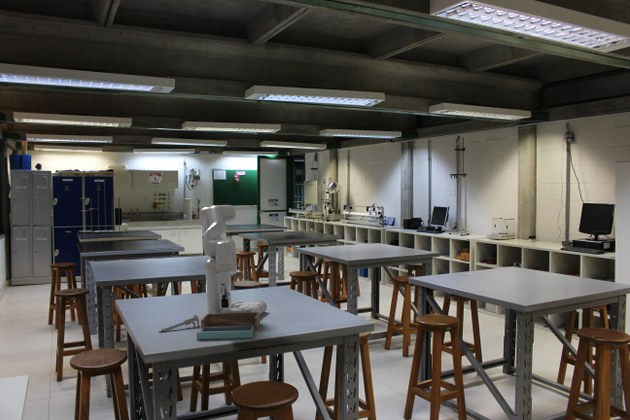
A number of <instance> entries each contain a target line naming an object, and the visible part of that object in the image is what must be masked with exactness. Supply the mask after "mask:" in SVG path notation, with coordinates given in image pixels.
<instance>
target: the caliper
mask: <svg viewBox="0 0 630 420" xmlns="http://www.w3.org/2000/svg"><path fill="white" fill-rule="evenodd" d="M195 321H196V322H195ZM191 324H192V325H193V327H196V324H197V327H200V318H199V315H197V314H196V313H195V314H193V315H192V317H190V318H187V319H184V320H183V321H181V322H178V323H175V324H173V325H170V326H167V327H164V328H162V329H161V328H160V330H159V331H158V333H159V332H160V333H163V332H162V331H166V332H169V331H171V330H173V329H176V328H179V327H182V326H189V325H191Z"/></svg>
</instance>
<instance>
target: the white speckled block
mask: <svg viewBox="0 0 630 420" xmlns="http://www.w3.org/2000/svg"><path fill="white" fill-rule="evenodd" d="M231 303H232V293H230V294H228V308H231V306H232V304H231ZM220 309H223V308H222V307H221V295H220Z"/></svg>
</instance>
